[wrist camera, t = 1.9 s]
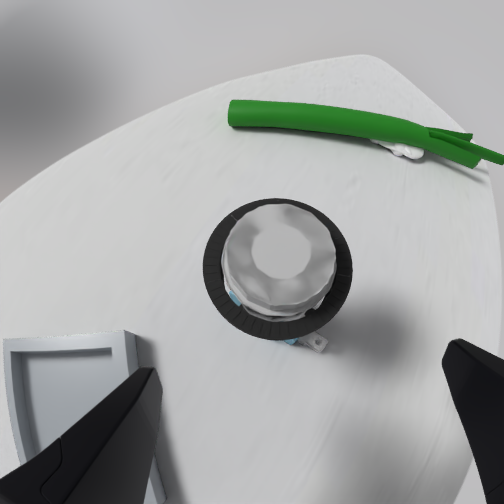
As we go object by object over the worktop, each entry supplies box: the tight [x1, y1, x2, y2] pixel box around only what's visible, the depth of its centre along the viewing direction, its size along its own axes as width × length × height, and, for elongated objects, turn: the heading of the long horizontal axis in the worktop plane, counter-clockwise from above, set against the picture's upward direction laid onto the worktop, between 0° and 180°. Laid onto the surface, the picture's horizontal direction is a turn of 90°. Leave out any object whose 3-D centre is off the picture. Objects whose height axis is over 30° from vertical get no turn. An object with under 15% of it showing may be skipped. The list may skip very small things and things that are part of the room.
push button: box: [203, 198, 353, 352], centre depth 14 cm, size 7×5×10 cm
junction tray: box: [3, 330, 167, 504], centre depth 14 cm, size 12×12×2 cm
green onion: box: [228, 100, 504, 169], centre depth 23 cm, size 5×3×30 cm
